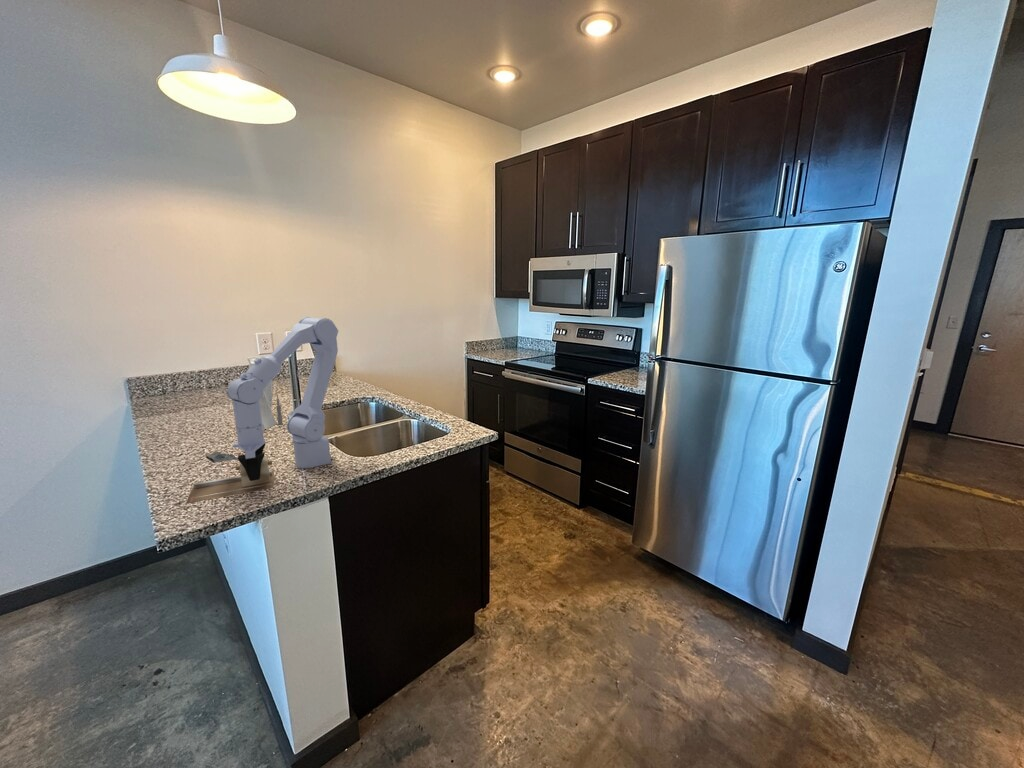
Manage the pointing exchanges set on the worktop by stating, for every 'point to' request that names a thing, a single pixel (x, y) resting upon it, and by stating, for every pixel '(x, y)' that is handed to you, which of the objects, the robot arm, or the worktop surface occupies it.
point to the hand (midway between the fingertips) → (255, 474)
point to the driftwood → (221, 457)
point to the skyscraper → (268, 404)
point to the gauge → (263, 474)
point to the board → (225, 488)
